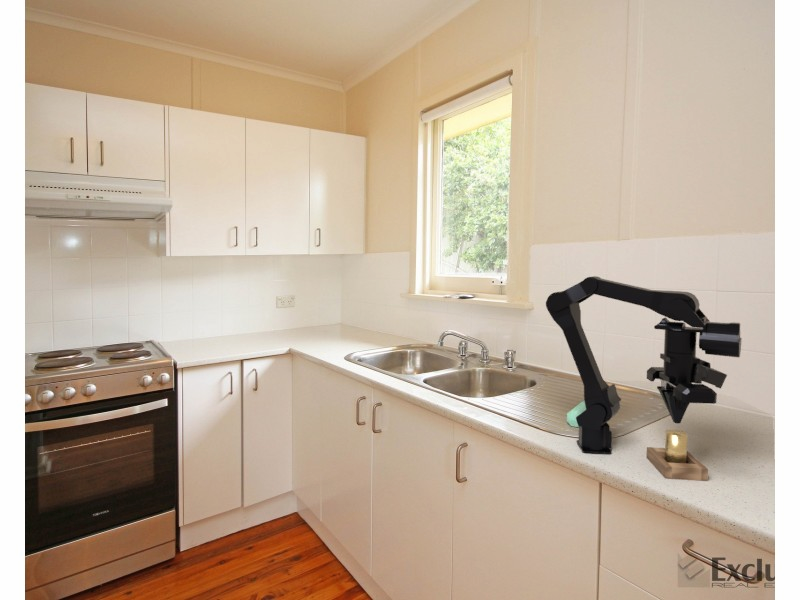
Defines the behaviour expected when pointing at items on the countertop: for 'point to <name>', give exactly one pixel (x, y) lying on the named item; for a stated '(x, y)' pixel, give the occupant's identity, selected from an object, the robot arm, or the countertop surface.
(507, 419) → the countertop surface
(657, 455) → the jig
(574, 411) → the container
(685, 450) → the peg
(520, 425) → the countertop surface
